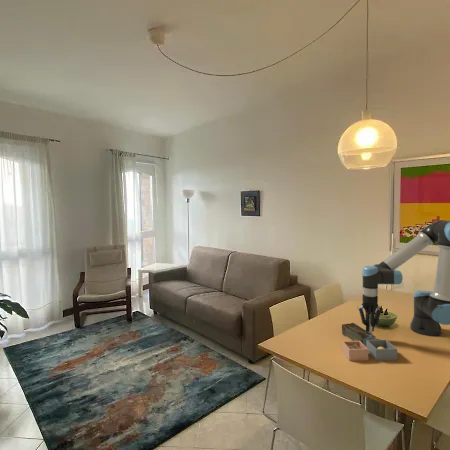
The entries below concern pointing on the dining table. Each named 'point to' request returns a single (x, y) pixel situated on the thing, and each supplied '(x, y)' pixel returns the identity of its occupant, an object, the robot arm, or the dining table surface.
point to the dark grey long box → (356, 333)
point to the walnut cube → (354, 346)
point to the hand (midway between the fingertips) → (369, 337)
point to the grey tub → (381, 350)
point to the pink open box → (355, 351)
